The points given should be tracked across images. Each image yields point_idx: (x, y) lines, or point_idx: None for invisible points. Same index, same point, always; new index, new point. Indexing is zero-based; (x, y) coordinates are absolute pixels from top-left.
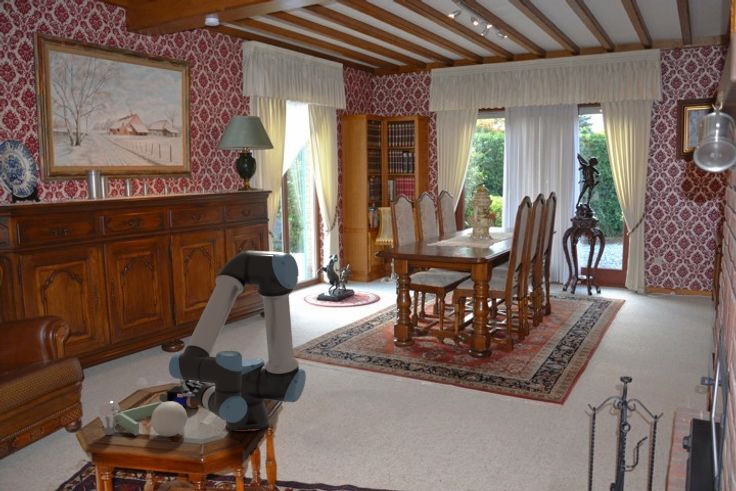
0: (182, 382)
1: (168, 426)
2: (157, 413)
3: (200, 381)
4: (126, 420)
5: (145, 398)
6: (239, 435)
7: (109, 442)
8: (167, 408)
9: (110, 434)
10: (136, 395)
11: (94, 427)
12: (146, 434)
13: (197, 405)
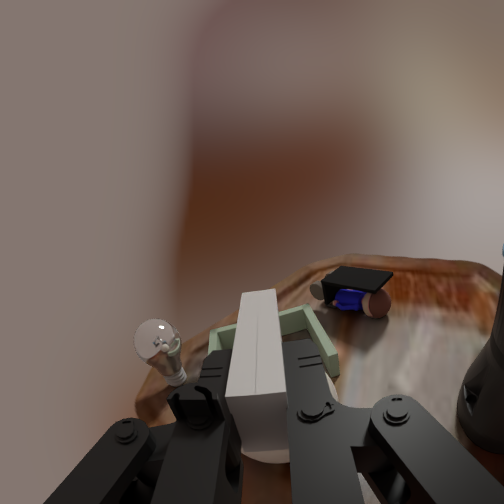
0: (201, 374)
1: (255, 456)
2: None
3: (390, 418)
4: None
5: (298, 283)
6: (492, 473)
7: (160, 412)
8: None
9: (176, 386)
10: (289, 276)
11: (181, 350)
12: None
13: (385, 313)
